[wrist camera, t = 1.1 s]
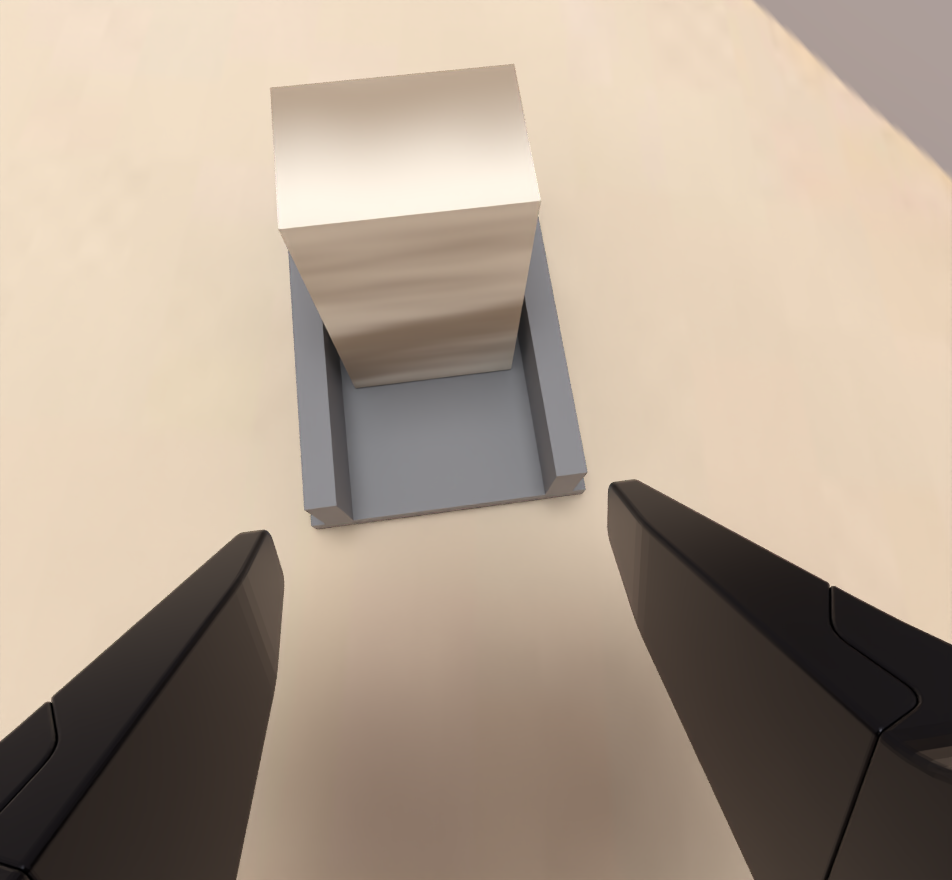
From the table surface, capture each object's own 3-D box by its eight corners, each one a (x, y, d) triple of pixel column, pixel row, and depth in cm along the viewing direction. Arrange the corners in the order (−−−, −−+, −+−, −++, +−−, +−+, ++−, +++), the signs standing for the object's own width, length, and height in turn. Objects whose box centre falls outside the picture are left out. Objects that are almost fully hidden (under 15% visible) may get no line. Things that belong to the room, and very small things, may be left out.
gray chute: (581, 493, 23) (602, 470, 20) (316, 529, 23) (288, 511, 19) (523, 183, 27) (532, 116, 24) (295, 207, 27) (268, 143, 23)
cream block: (511, 369, 24) (541, 200, 14) (355, 388, 24) (278, 229, 14) (496, 277, 25) (513, 63, 15) (346, 294, 25) (270, 88, 15)
